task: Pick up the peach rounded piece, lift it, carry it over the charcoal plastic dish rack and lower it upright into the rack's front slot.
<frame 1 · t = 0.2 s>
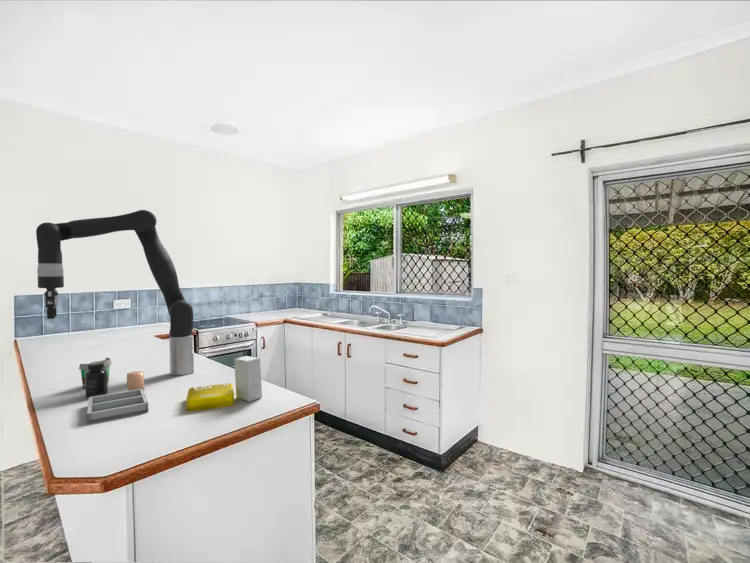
hand: (52, 317, 142), 29 cm above the table, fingers open, 8 cm apart
element tile: (210, 403, 132), on the table
supplement bottle: (96, 395, 139), on the table
rack: (118, 408, 125), on the table
food container: (100, 385, 152), on the table
skincare box: (248, 398, 136), on the table
peach rounded piece: (135, 394, 141), on the table
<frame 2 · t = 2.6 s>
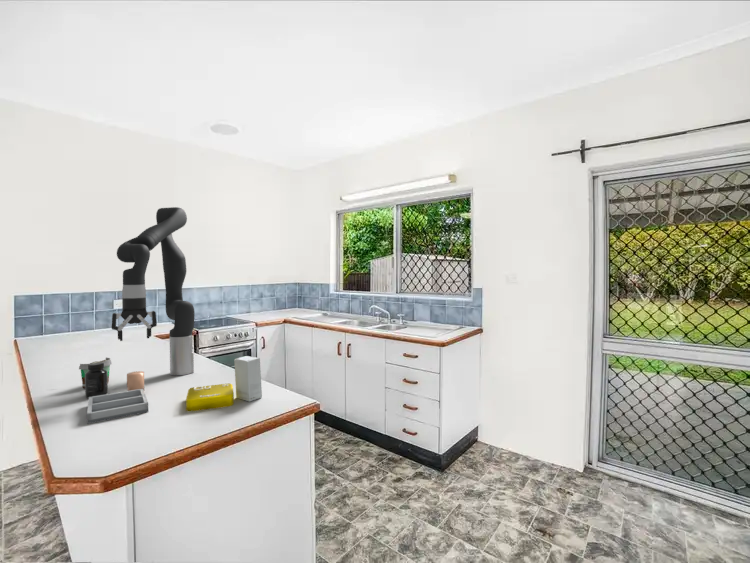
hand: (134, 339, 140), 21 cm above the table, fingers open, 8 cm apart
nothing on the table moved.
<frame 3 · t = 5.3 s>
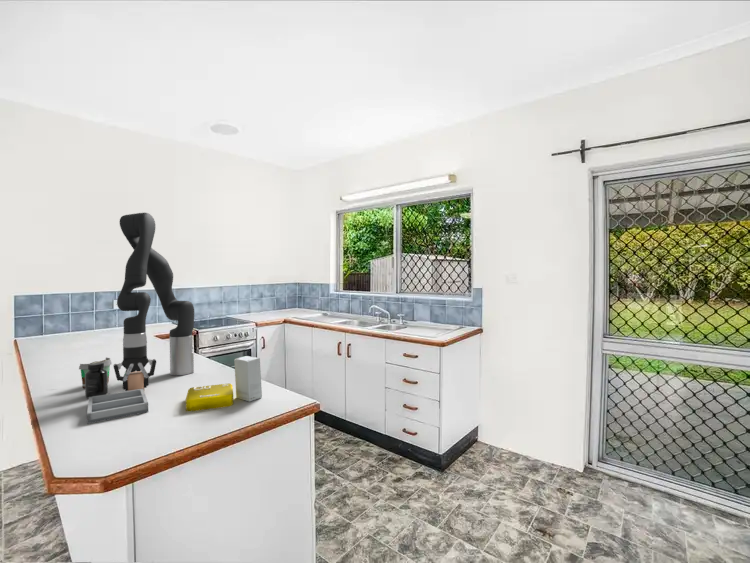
hand: (135, 388, 140), 2 cm above the table, fingers closed on peach rounded piece, 5 cm apart
peach rounded piece: (136, 393, 141), on the table, touching gripper
everything else where it was.
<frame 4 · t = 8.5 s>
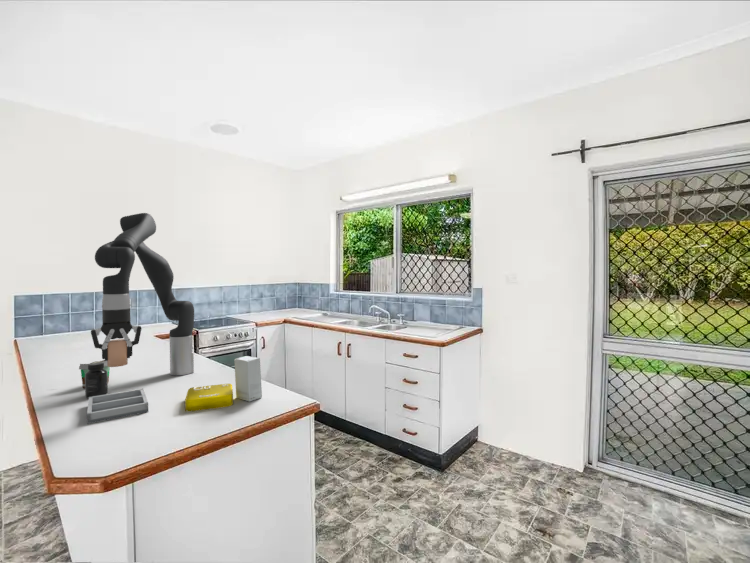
hand: (117, 358, 121), 18 cm above the table, fingers closed on peach rounded piece, 5 cm apart
peach rounded piece: (117, 364, 121), point 16 cm above the table, touching gripper
everything else where it was.
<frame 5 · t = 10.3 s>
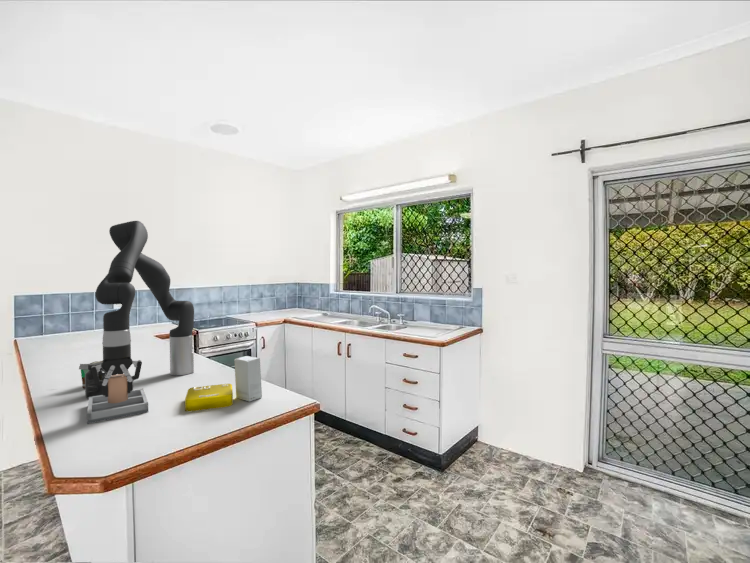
hand: (117, 394, 121), 6 cm above the table, fingers closed on peach rounded piece, 5 cm apart
peach rounded piece: (117, 400, 122), point 4 cm above the table, touching gripper
everything else where it was.
when the fingers open (4 cm above the table, at t = 11.7 s): peach rounded piece drops 1 cm, resting on rack.
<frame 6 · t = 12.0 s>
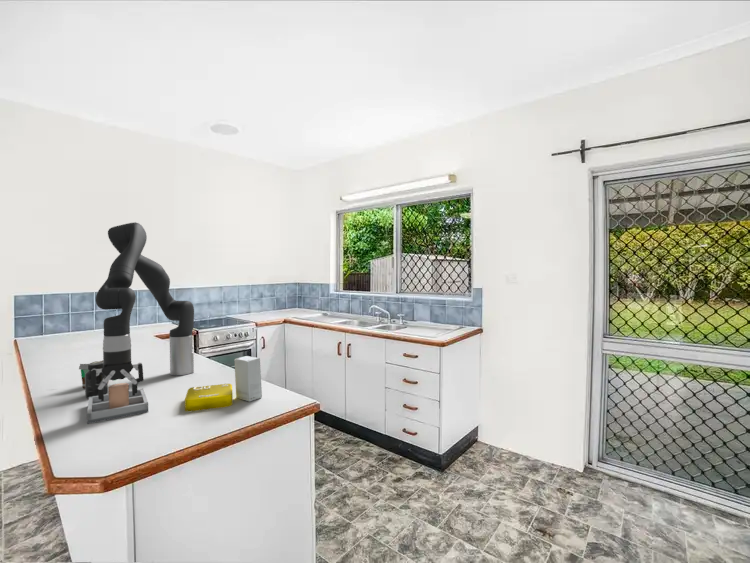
hand: (118, 397, 122), 5 cm above the table, fingers open, 8 cm apart
peach rounded piece: (119, 409, 122), point 1 cm above the table, touching rack
everything else where it was.
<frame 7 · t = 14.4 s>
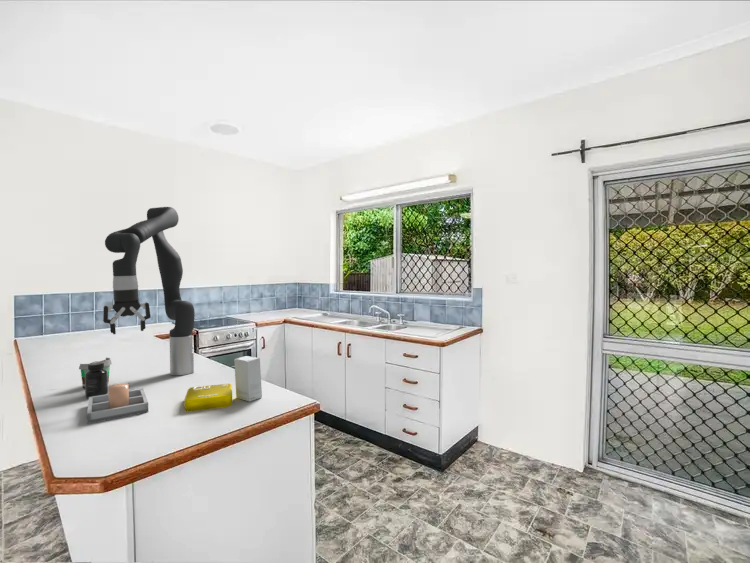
hand: (128, 332, 135), 24 cm above the table, fingers open, 8 cm apart
nothing on the table moved.
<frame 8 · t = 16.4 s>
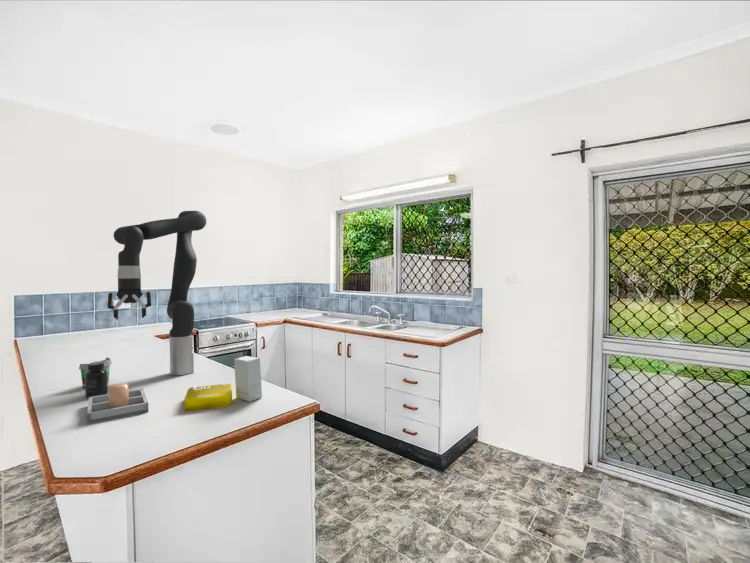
hand: (130, 318, 146), 28 cm above the table, fingers open, 8 cm apart
nothing on the table moved.
at the end: peach rounded piece inside the target area on the rack (0.2 cm from its centre), point 1.0 cm above the rack's base; peach rounded piece tilted 1°; the gripper is holding nothing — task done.
